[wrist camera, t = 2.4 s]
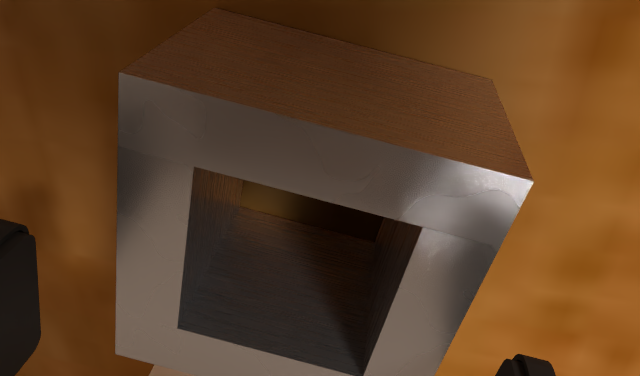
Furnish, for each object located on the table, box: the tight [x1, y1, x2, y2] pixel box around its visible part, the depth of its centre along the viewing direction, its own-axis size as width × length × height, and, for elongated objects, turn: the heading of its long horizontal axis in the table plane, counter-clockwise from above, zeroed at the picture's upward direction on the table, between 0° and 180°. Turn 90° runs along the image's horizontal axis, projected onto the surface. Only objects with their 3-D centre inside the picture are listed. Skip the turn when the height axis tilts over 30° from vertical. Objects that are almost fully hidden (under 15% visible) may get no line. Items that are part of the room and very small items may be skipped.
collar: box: [115, 8, 534, 376], centre depth 13 cm, size 7×7×5 cm
